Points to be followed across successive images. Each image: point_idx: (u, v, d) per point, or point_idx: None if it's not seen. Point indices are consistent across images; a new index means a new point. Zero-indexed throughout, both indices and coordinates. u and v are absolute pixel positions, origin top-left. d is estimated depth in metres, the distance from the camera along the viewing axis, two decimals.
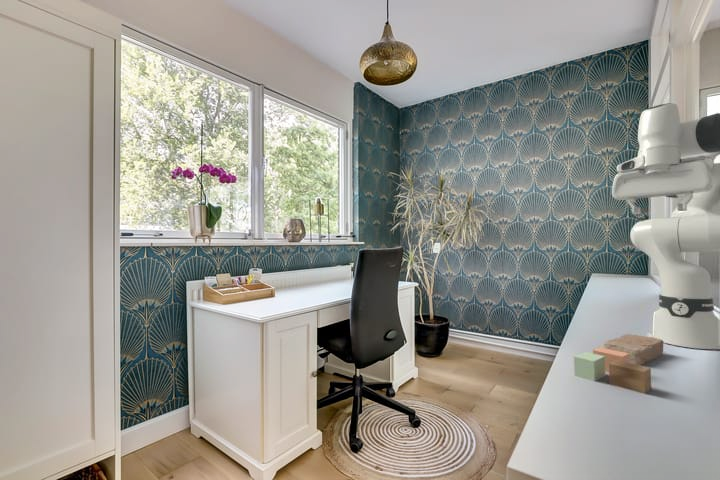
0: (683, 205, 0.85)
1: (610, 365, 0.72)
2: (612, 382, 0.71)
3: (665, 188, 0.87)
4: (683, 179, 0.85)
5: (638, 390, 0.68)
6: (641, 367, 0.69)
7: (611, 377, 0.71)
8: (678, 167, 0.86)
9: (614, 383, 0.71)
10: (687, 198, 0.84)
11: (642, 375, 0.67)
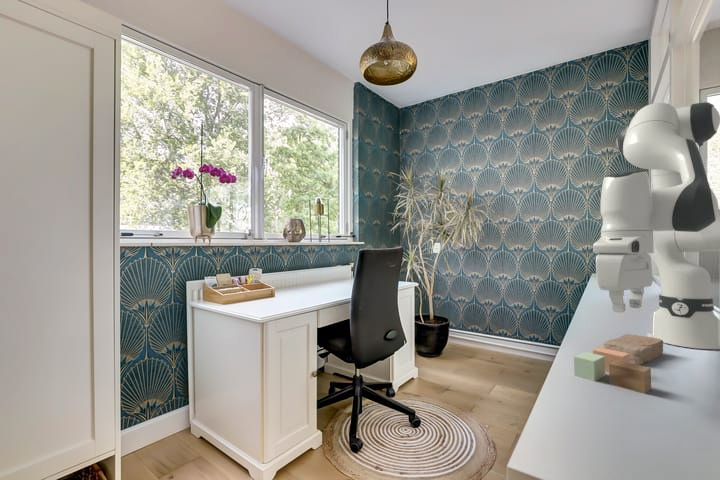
0: (640, 302, 0.73)
1: (610, 365, 0.72)
2: (612, 382, 0.71)
3: (640, 282, 0.70)
4: (645, 273, 0.73)
5: (638, 390, 0.68)
6: (641, 367, 0.69)
7: (611, 377, 0.71)
8: None
9: (614, 383, 0.71)
10: (642, 294, 0.73)
11: (643, 375, 0.67)
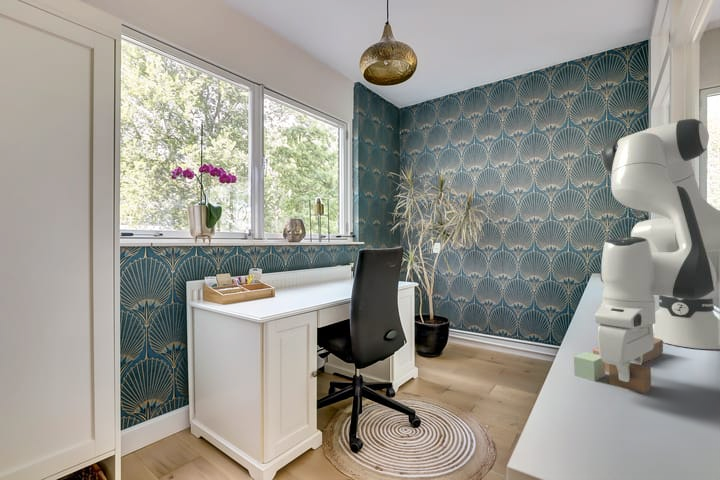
0: None
1: (610, 364, 0.72)
2: (612, 381, 0.71)
3: (642, 350, 0.70)
4: (647, 339, 0.72)
5: (638, 389, 0.68)
6: (641, 367, 0.69)
7: (611, 376, 0.71)
8: None
9: (614, 382, 0.71)
10: (641, 361, 0.72)
11: (642, 374, 0.67)
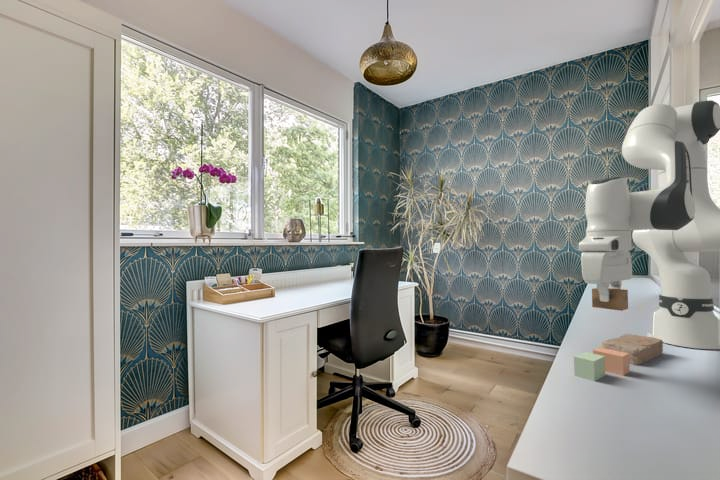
0: None
1: (593, 290, 0.81)
2: (594, 304, 0.81)
3: (621, 276, 0.80)
4: (625, 267, 0.82)
5: (616, 308, 0.77)
6: (619, 289, 0.79)
7: (593, 300, 0.81)
8: None
9: (596, 305, 0.81)
10: (620, 287, 0.82)
11: (620, 294, 0.77)
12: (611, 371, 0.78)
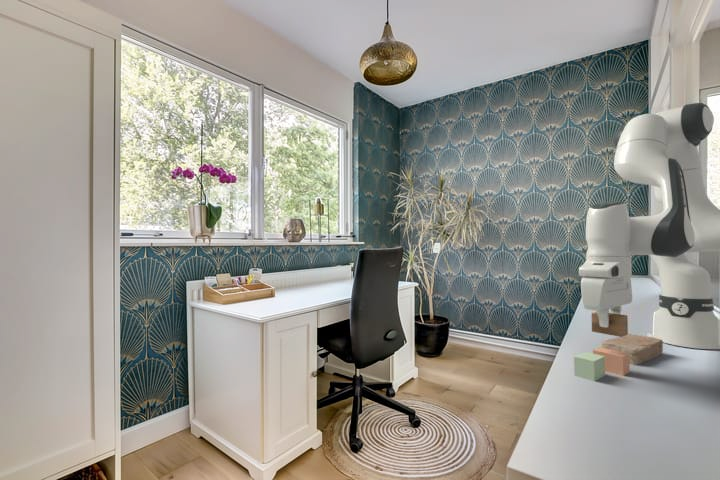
0: None
1: (592, 314, 0.81)
2: (594, 329, 0.81)
3: (620, 301, 0.80)
4: (625, 292, 0.82)
5: (616, 334, 0.77)
6: (619, 315, 0.79)
7: (593, 325, 0.81)
8: None
9: (596, 330, 0.81)
10: (620, 312, 0.82)
11: (620, 320, 0.77)
12: (611, 371, 0.78)
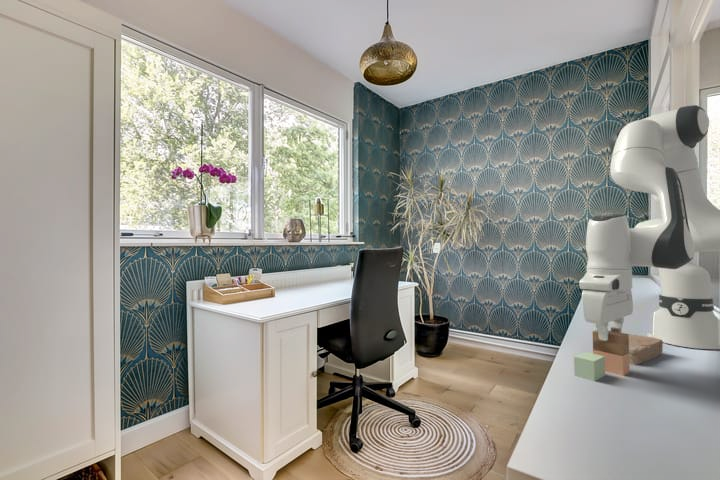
0: (620, 330, 0.82)
1: (593, 332, 0.81)
2: (595, 347, 0.81)
3: (621, 313, 0.80)
4: (626, 304, 0.82)
5: (617, 353, 0.77)
6: (620, 334, 0.79)
7: (594, 343, 0.81)
8: None
9: (597, 348, 0.81)
10: (622, 323, 0.82)
11: (621, 339, 0.77)
12: (611, 371, 0.78)
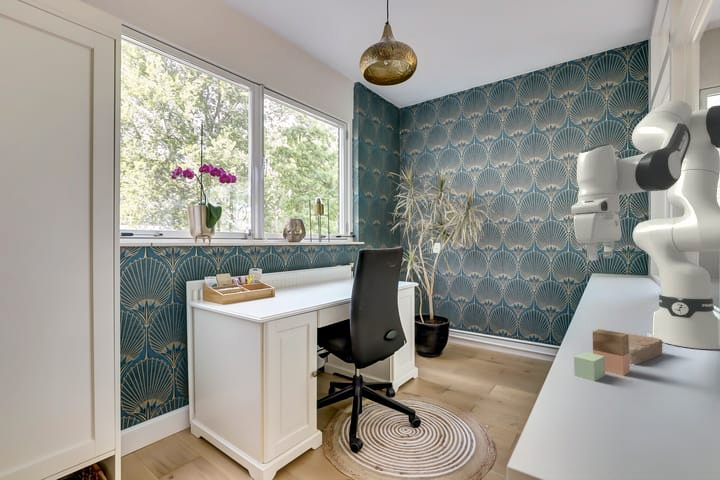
0: (612, 253, 0.89)
1: (593, 333, 0.81)
2: (595, 347, 0.81)
3: (610, 236, 0.87)
4: (615, 229, 0.89)
5: (617, 353, 0.77)
6: (620, 334, 0.79)
7: (594, 343, 0.81)
8: None
9: (597, 348, 0.81)
10: (613, 247, 0.90)
11: (621, 339, 0.77)
12: (611, 371, 0.78)
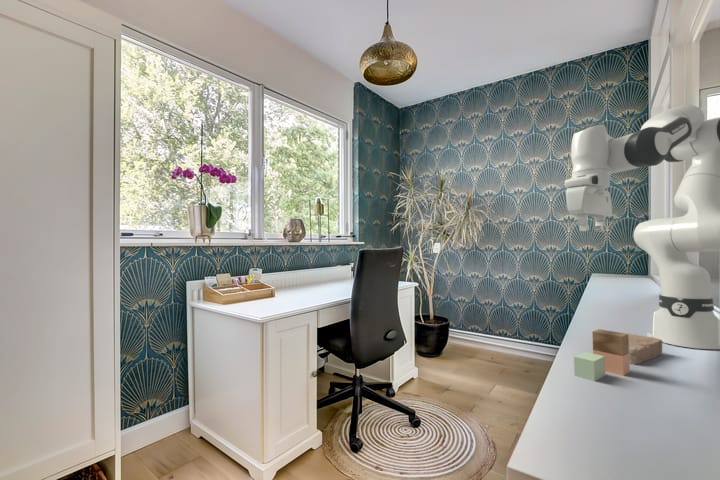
0: (602, 227, 0.95)
1: (593, 333, 0.81)
2: (595, 347, 0.81)
3: (601, 210, 0.93)
4: (606, 205, 0.95)
5: (617, 353, 0.77)
6: (620, 334, 0.79)
7: (594, 343, 0.81)
8: (604, 192, 0.94)
9: (597, 348, 0.81)
10: (603, 221, 0.96)
11: (621, 339, 0.77)
12: (611, 371, 0.78)
